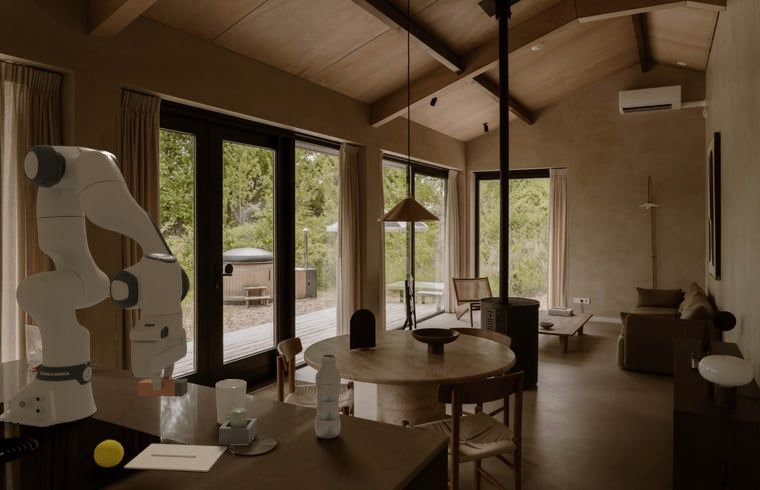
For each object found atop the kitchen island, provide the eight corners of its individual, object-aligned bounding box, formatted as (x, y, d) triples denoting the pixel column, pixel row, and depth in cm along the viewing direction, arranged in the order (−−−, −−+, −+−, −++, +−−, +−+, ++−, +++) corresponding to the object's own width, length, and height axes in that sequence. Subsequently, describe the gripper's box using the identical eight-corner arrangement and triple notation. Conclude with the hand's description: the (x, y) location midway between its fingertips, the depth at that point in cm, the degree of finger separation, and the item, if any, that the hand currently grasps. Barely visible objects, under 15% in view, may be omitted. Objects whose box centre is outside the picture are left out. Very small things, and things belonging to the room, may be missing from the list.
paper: (124, 468, 111) (124, 466, 111) (151, 444, 123) (151, 443, 123) (207, 471, 110) (207, 470, 110) (227, 448, 122) (227, 446, 122)
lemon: (129, 465, 114) (132, 441, 113) (107, 476, 109) (110, 451, 108) (106, 455, 117) (109, 432, 116) (84, 465, 112) (86, 440, 111)
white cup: (237, 427, 135) (238, 389, 135) (209, 424, 137) (209, 386, 136) (251, 417, 143) (251, 380, 142) (224, 414, 144) (224, 378, 144)
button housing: (219, 445, 124) (219, 428, 124) (229, 433, 131) (229, 417, 131) (248, 446, 124) (248, 429, 123) (256, 434, 131) (257, 418, 130)
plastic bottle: (320, 443, 126) (321, 360, 125) (310, 433, 132) (311, 354, 131) (344, 439, 129) (346, 358, 128) (334, 429, 135) (335, 352, 134)
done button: (227, 434, 125) (227, 413, 125) (233, 428, 129) (233, 407, 129) (244, 435, 125) (244, 414, 125) (249, 428, 129) (249, 408, 129)
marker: (137, 396, 118) (137, 382, 118) (144, 391, 121) (144, 378, 121) (182, 396, 118) (181, 382, 118) (187, 392, 121) (187, 378, 121)
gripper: (168, 318, 129) (168, 374, 130) (124, 334, 109) (125, 400, 109) (193, 318, 129) (194, 374, 130) (155, 334, 109) (155, 401, 109)
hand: (162, 386), depth 119 cm, fingers closed on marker, 3 cm apart
